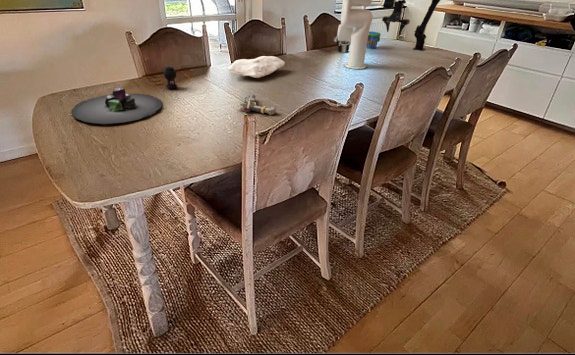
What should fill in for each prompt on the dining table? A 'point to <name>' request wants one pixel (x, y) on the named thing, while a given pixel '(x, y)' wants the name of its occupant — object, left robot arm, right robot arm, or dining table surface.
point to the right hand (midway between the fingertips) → (393, 33)
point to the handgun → (255, 106)
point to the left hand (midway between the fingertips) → (343, 51)
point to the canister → (343, 48)
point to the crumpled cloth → (256, 66)
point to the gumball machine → (170, 77)
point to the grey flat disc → (116, 108)
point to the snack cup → (373, 39)
